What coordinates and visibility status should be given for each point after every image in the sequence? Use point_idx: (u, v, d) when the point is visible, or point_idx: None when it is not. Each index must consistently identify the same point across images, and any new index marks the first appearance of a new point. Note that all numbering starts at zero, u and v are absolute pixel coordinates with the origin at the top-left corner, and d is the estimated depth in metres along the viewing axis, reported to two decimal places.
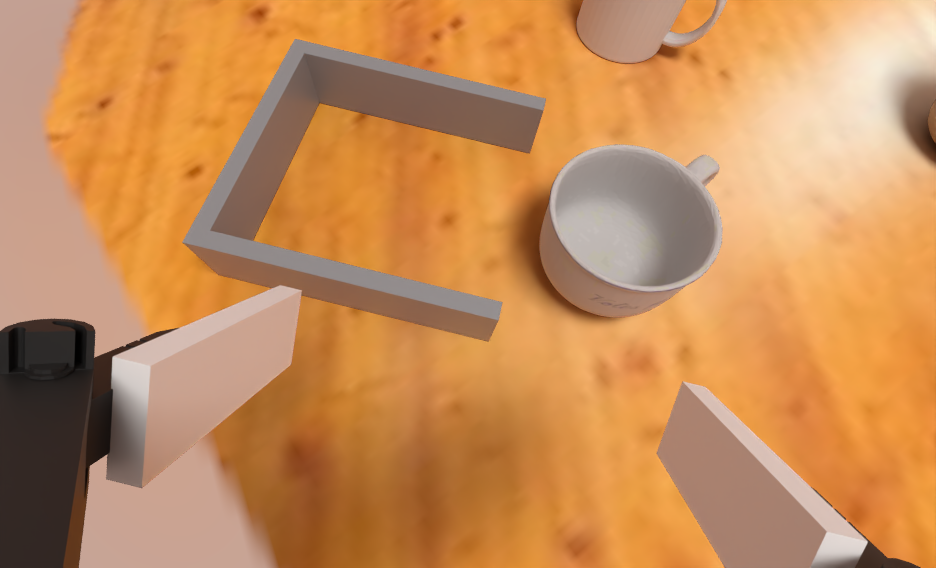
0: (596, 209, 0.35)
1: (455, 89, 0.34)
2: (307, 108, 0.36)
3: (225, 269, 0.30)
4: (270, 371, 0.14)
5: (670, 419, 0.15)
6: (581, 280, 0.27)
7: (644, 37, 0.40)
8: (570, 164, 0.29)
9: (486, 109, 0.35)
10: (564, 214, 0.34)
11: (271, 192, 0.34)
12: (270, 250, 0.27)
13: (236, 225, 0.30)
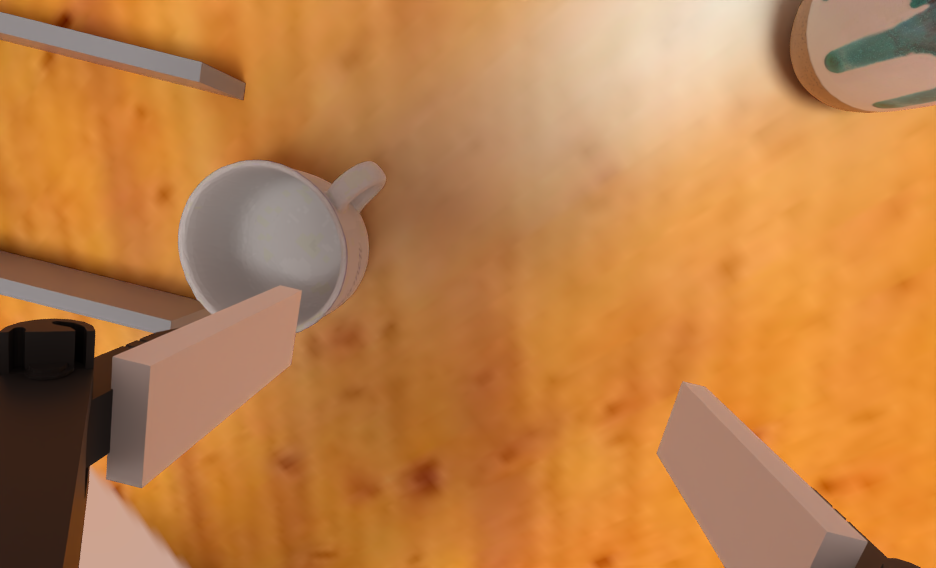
0: (301, 187, 0.32)
1: (94, 55, 0.28)
2: None
3: None
4: (270, 371, 0.14)
5: (670, 419, 0.15)
6: None
7: None
8: (198, 190, 0.27)
9: (148, 71, 0.29)
10: (264, 197, 0.32)
11: None
12: None
13: None
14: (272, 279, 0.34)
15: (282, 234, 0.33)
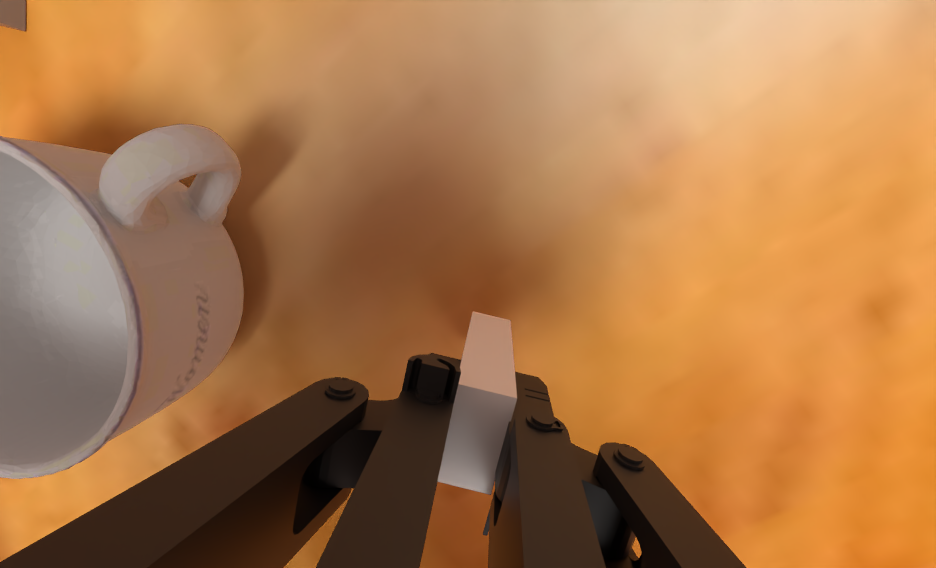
0: None
1: None
2: None
3: None
4: None
5: None
6: None
7: None
8: None
9: None
10: (61, 200, 0.18)
11: None
12: None
13: None
14: (94, 336, 0.20)
15: (107, 261, 0.20)
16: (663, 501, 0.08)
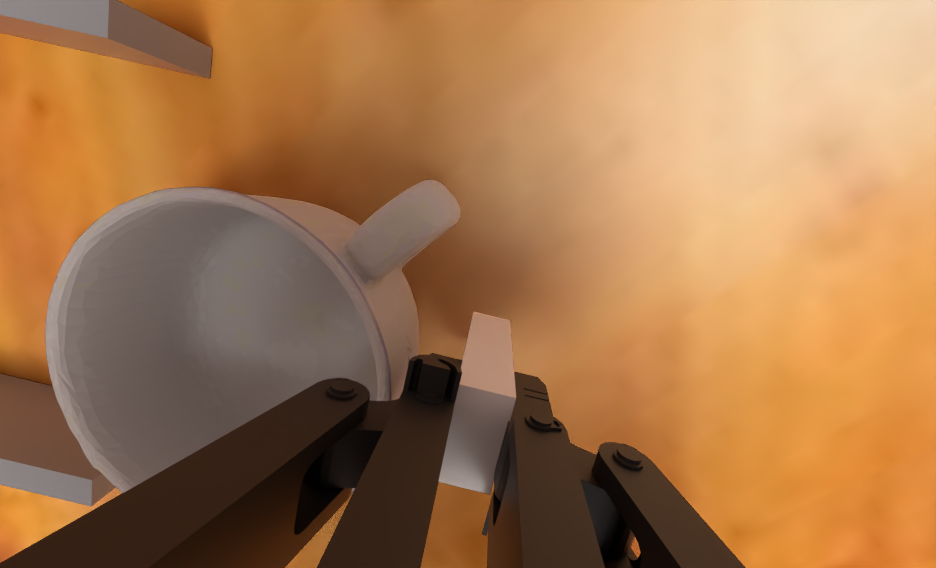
0: None
1: None
2: None
3: None
4: None
5: None
6: None
7: None
8: (75, 254, 0.13)
9: (19, 24, 0.15)
10: (231, 244, 0.18)
11: None
12: None
13: None
14: (253, 378, 0.20)
15: (267, 303, 0.19)
16: (662, 501, 0.08)
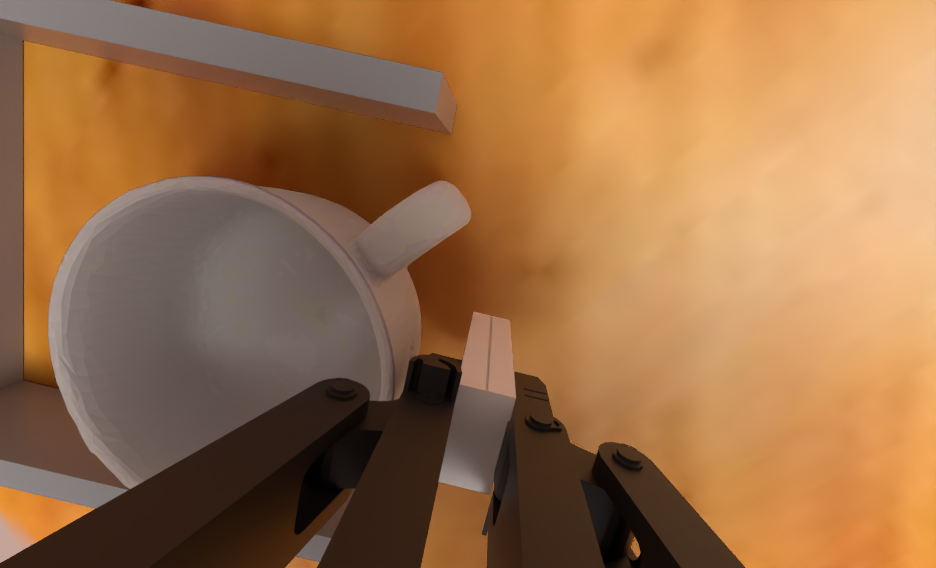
0: None
1: (221, 64, 0.14)
2: None
3: None
4: None
5: None
6: None
7: None
8: (83, 237, 0.13)
9: (316, 92, 0.15)
10: (236, 233, 0.18)
11: (9, 268, 0.20)
12: None
13: None
14: (251, 369, 0.20)
15: (269, 294, 0.19)
16: (662, 501, 0.08)
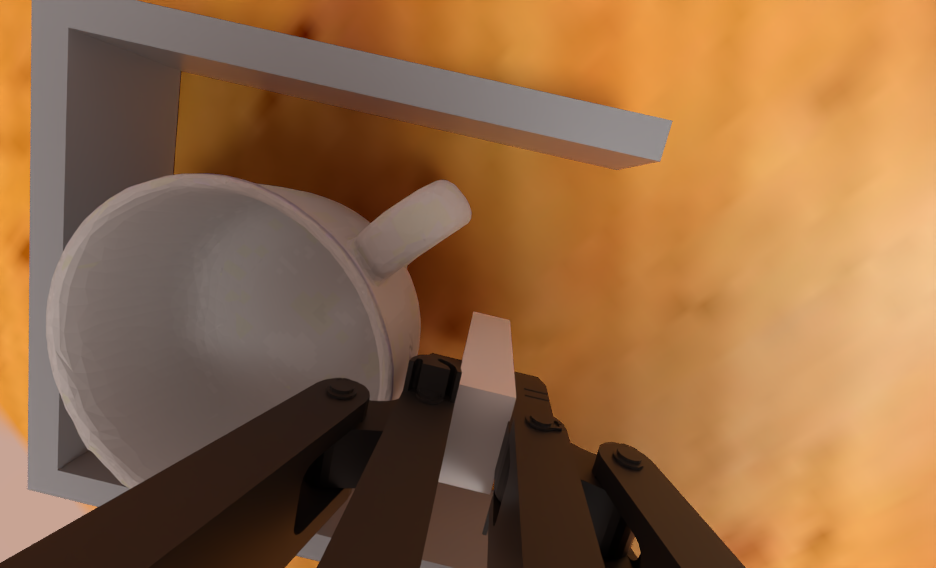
0: None
1: (440, 110, 0.14)
2: (153, 115, 0.18)
3: None
4: None
5: None
6: None
7: None
8: (82, 234, 0.13)
9: (520, 135, 0.15)
10: (236, 231, 0.18)
11: None
12: None
13: None
14: (250, 367, 0.20)
15: (268, 292, 0.19)
16: (662, 501, 0.08)
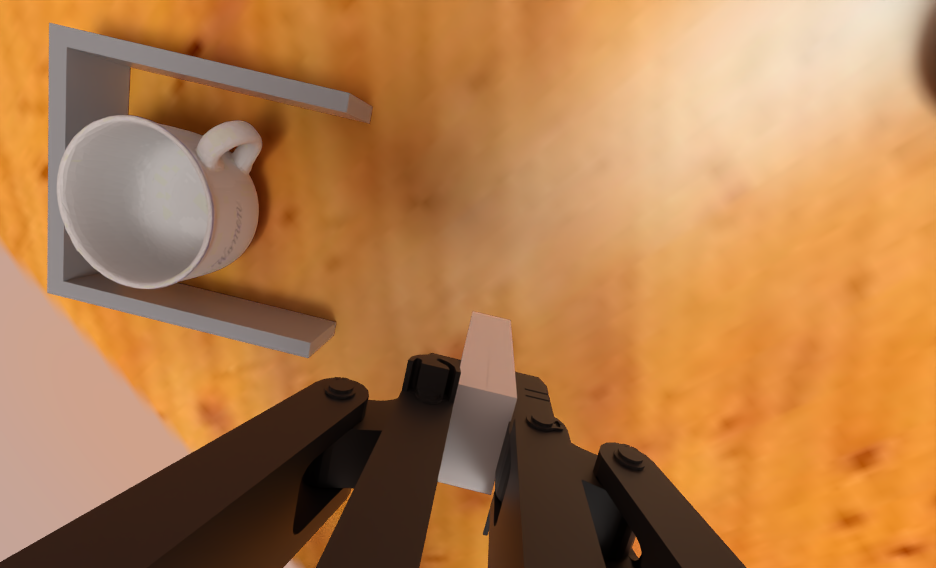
0: None
1: (243, 87, 0.28)
2: (114, 91, 0.33)
3: None
4: None
5: None
6: None
7: None
8: (72, 143, 0.28)
9: (291, 101, 0.29)
10: (159, 156, 0.33)
11: None
12: (115, 298, 0.32)
13: None
14: (171, 236, 0.35)
15: (180, 193, 0.34)
16: (663, 501, 0.08)
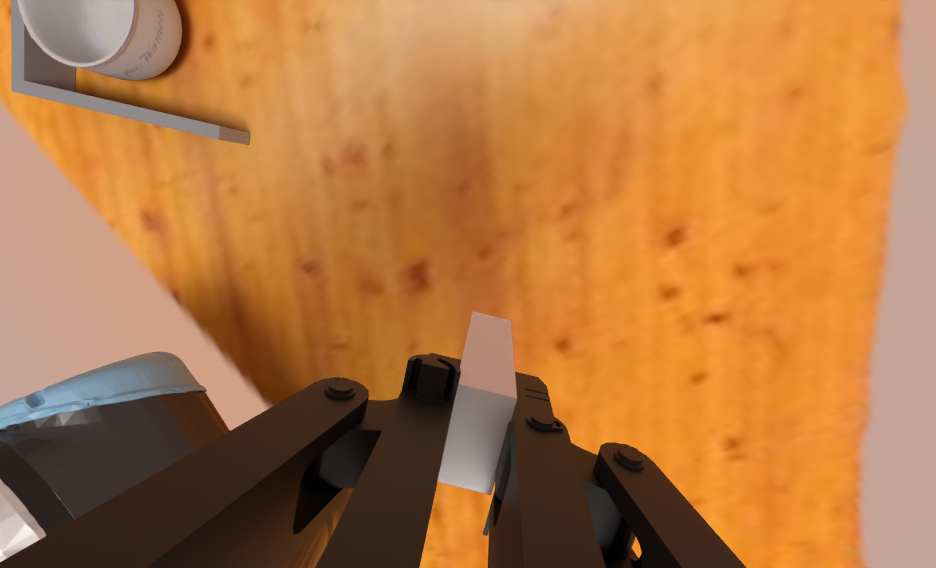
0: None
1: None
2: None
3: None
4: None
5: None
6: None
7: None
8: None
9: None
10: None
11: None
12: (66, 94, 0.41)
13: (48, 67, 0.42)
14: None
15: (121, 20, 0.43)
16: (663, 501, 0.08)
